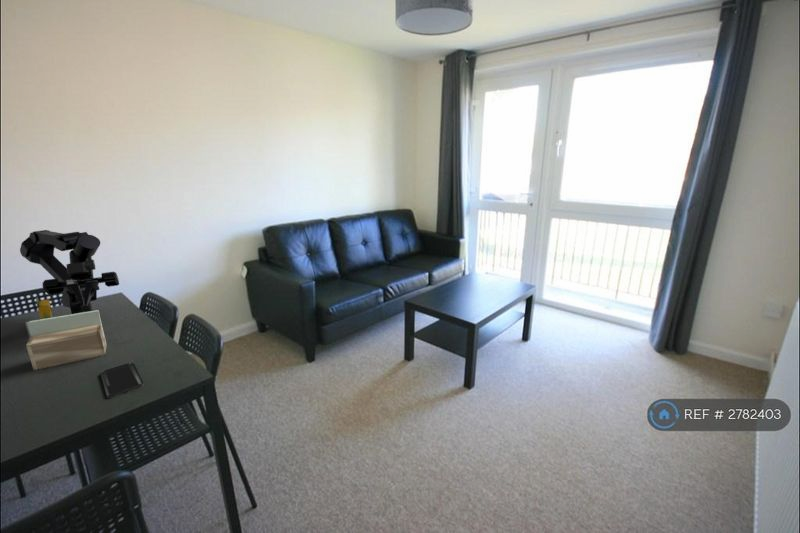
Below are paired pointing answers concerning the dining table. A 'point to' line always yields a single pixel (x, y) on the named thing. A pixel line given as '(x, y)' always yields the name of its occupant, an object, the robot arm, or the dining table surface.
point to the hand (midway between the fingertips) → (84, 305)
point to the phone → (121, 380)
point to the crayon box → (44, 309)
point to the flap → (63, 323)
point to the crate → (66, 346)
